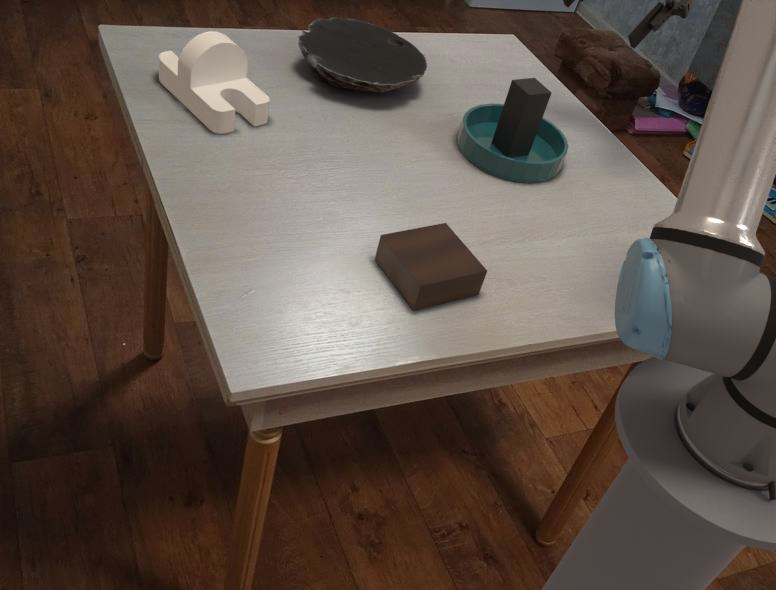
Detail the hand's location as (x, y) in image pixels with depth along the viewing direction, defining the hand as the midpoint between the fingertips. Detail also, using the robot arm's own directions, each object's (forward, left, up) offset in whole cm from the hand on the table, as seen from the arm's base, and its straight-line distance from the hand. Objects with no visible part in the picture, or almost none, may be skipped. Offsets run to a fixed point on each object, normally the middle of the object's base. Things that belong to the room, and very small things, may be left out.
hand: (596, 21), depth 125 cm
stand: (-25, +41, -20) cm, 52 cm away
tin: (-2, +11, -20) cm, 23 cm away
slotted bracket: (+21, +52, -20) cm, 60 cm away
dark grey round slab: (+24, +25, -20) cm, 40 cm away
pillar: (-2, +11, -20) cm, 22 cm away
